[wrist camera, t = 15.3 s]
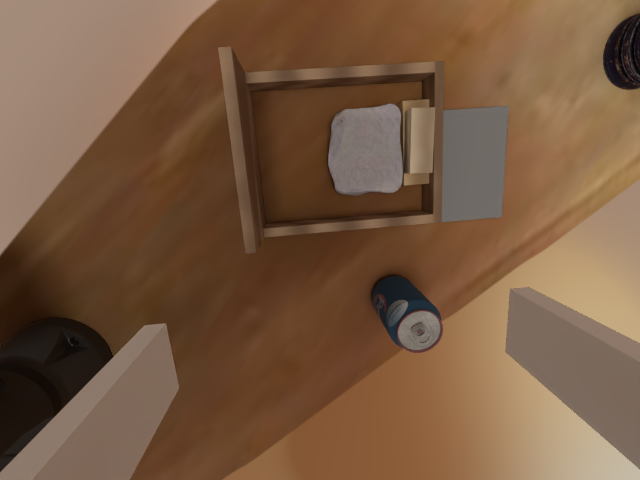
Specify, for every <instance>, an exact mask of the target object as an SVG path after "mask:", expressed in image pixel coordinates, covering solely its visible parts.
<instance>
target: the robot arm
mask: <svg viewBox="0 0 640 480" xmlns="http://www.w3.org/2000/svg"><path fill="white" fill-rule="evenodd" d="M506 353H507V354H509V355H510V356H511V357H512V358H513V359H514V360H515V361H516V362H518V363H519V364H520V365H521V366H522V367H523V368H525V369H526V370H527V371H528V372H529V373H530V374H531V375H533V376H534V377H535V378H536V379H537V380H538V381H539V382H541V383H542V384H543V385H544V386H545V387H546V388H548V390H550V391H551V392H552V393H553V394H554V395H555V396H557V397H558V398H559V399H560V400H561V401H562V402H563V403H565V404H566V405H567V406H568V407H569V408H570V409H571V410H573V411H574V412H575V413H576V414H577V415H578V416H579V417H581V418H582V419H583V420H584V421H585V422H586V423H587V424H589V425H590V426H591V427H592V428H593V429H594V430H595V431H597V432H598V433H599V434H600V435H601V436H602V437H604V438H605V439H606V440H607V441H608V442H609V443H610V444H611V445H613V446H614V447H615V448H616V449H617V450H618V451H619V452H621V453H622V454H623V455H624V456H625V457H626V458H627V459H629V460H630V461H631V462H632V463H633V464H634V465H636V466H637V467H638V468H639V469H640V343H638V342H636V341H634V340H632V339H630V338H628V337H626V336H624V335H622V334H620V333H618V332H616V331H614V330H612V329H610V328H608V327H606V326H605V325H602V324H601V323H598V322H596V321H595V320H593V319H591V318H589V317H587V316H585V315H583V314H580V313H579V312H577V311H575V310H573V309H571V308H569V307H567V306H565V305H563V304H561V303H559V302H557V301H555V300H553V299H551V298H549V297H547V296H545V295H543V294H541V293H539V292H537V291H535V290H533V289H531V288H529V287H525V288H515V289H510V296H509V310H508V324H507V338H506ZM178 389H179V385H178V380H177V375H176V370H175V366H174V361H173V356H172V351H171V346H170V341H169V336H168V331H167V326H166V323H163V324H153V325H144V326H143V327H142V328H141V329H140V330H139V331H138V332H137V333H136V335H135V336H134V337H133V338H132V339H131V340H130V341H129V342H128V343H127V344H126V345H125V346H124V347H123V348H122V349H121V350H120V351H119V352H118V353H117V354H116V355H115V356H114V357H113V356H112V353H111V351H110V349H109V347H108V345H107V344H106V342H105V341H104V340H103V338H102V337H101V336H100V335H99V334H98V333H96V332H95V331H94V330H92V329H91V328H89V327H88V326H86V325H84V324H82V323H79V322H77V321H74V320H70V319H65V318H46V319H41V320H37V321H35V322H32V323H30V324H28V325H27V326H25V327H23V328H21V329H20V330H18V331H16V332H15V333H13V334H12V335H11V336H10V337H9V338H7V339H6V341H5V342H4V343H3V344H2V346H1V347H0V480H130V478H131V476H132V474H133V473H134V471H135V469H136V467H137V465H138V463H139V461H140V460H141V458H142V456H143V454H144V452H145V450H146V448H147V447H148V445H149V443H150V441H151V439H152V437H153V436H154V434H155V432H156V430H157V428H158V426H159V424H160V423H161V421H162V419H163V417H164V415H165V413H166V411H167V410H168V408H169V406H170V404H171V402H172V400H173V398H174V397H175V395H176V393H177V391H178Z"/></svg>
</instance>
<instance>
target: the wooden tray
mask: <svg viewBox="0 0 640 480" xmlns="http://www.w3.org/2000/svg"><path fill="white" fill-rule="evenodd" d="M218 49H219V57H220V65H221V72H222V80H223V87H224V95H225V102H226V110H227V117H228V125H229V132H230V140H231V148H232V155H233V163H234V170H235V178H236V185H237V193H238V200H239V208H240V216H241V223H242V231H243V238H244V246H245V253H246V254H249V253H257V251H258V249H259V247H260V245H261V243H262V241H263V239H264V237H274V236H286V235H298V234H309V233H321V232H332V231H344V230H356V229H367V228H379V227H391V226H402V225H414V224H425V223H437V222H442V174H443V115H444V61H438V62H420V63H403V64H385V65H368V66H350V67H333V68H315V69H298V70H280V71H263V72H244V70H243V68H242V66H241V64H240V63H239V61H238V59H237V57H236V55H235V53H234V51H233V50H232V48H231V47H218ZM416 81H422V100H424V99H429V107H435V124H434V148H433V172H432V173H429V183H428V184H422V211H411V212H399V213H387V214H375V215H363V216H351V217H339V218H328V219H316V220H304V221H292V222H280V223H268V224H266V219H265V210H264V202H263V193H262V184H261V175H260V167H259V158H258V149H257V140H256V132H255V123H254V114H253V105H252V97H251V91H267V90H284V89H300V88H317V87H333V86H350V85H366V84H383V83H399V82H416Z"/></svg>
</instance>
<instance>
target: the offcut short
mask: <svg viewBox="0 0 640 480" xmlns="http://www.w3.org/2000/svg"><path fill="white" fill-rule="evenodd" d="M434 124H435V107H428V108H411V109H409V110H407V111H405V136H404V173H408V174H412V173H432V172H433V148H434Z"/></svg>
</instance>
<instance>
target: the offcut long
mask: <svg viewBox="0 0 640 480" xmlns="http://www.w3.org/2000/svg"><path fill="white" fill-rule="evenodd" d="M397 107H398V108H399V110H400V112H401V124H400V145H401V152H402V167H403V176H402V184H401V185H416V184H428V183H429V173H412V174H408V173H404V136H405V111H407V110H409V109H411V108H428V107H429V99H424V100H409V101H402V102H400V103H399V104H397Z"/></svg>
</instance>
